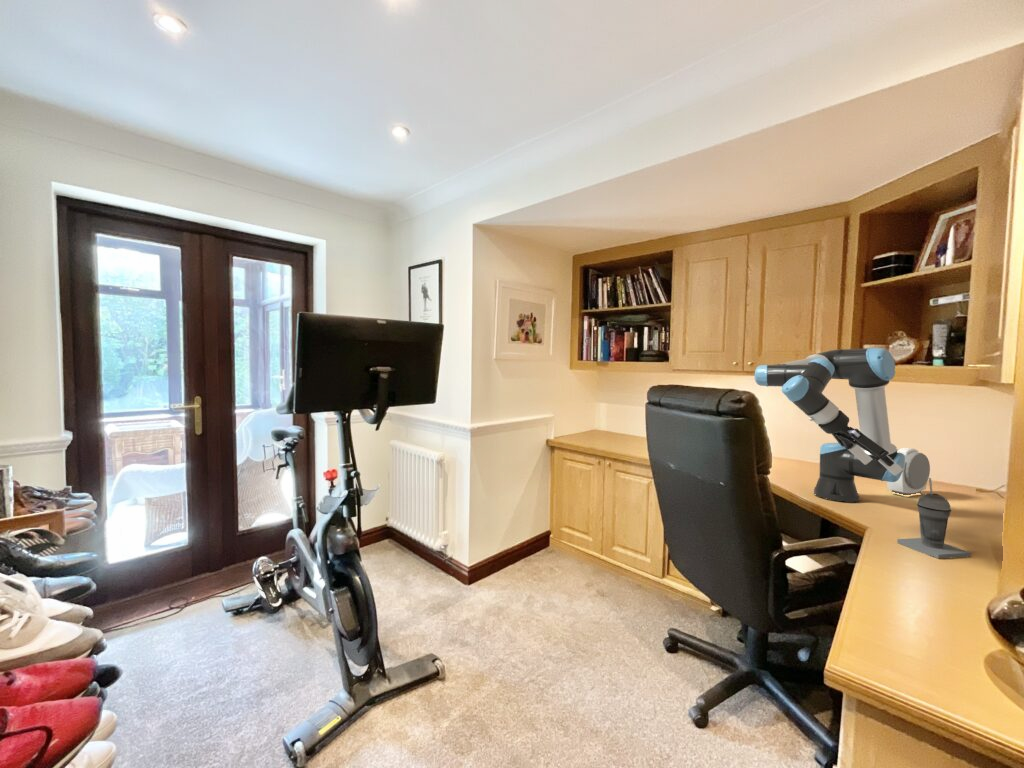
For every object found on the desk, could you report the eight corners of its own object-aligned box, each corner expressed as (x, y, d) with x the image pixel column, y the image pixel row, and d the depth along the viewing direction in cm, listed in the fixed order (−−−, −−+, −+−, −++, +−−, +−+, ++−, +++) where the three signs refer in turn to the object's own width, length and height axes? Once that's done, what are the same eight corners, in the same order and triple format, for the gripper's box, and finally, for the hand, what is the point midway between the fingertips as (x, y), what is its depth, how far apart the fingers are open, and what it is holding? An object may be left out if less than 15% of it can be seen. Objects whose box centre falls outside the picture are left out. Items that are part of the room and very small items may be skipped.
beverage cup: (938, 551, 120) (941, 483, 119) (908, 541, 127) (911, 476, 126) (956, 549, 122) (959, 481, 121) (925, 539, 129) (928, 475, 128)
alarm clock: (907, 490, 188) (908, 445, 188) (931, 495, 180) (933, 449, 180) (882, 493, 182) (883, 447, 181) (905, 499, 174) (907, 451, 173)
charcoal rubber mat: (927, 541, 130) (927, 537, 130) (970, 556, 119) (970, 552, 119) (897, 543, 129) (897, 539, 129) (938, 558, 118) (938, 554, 118)
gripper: (799, 420, 142) (848, 465, 140) (841, 431, 118) (901, 486, 116) (817, 405, 141) (867, 450, 139) (863, 413, 117) (924, 468, 114)
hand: (882, 466), depth 127 cm, fingers open, 13 cm apart
